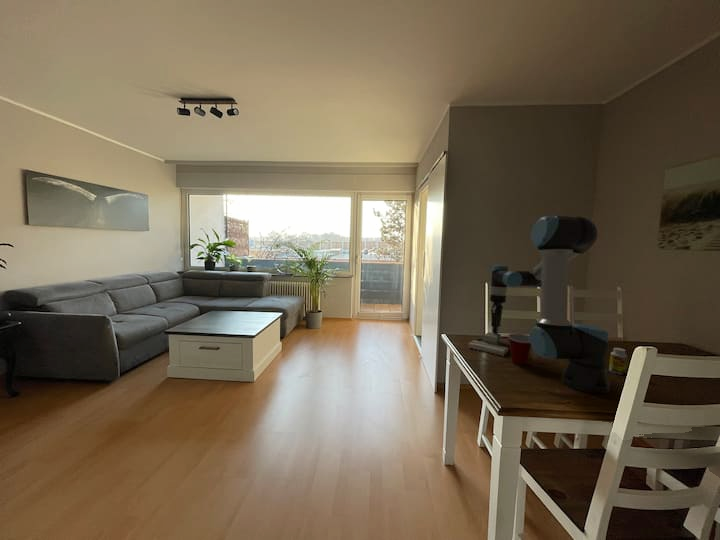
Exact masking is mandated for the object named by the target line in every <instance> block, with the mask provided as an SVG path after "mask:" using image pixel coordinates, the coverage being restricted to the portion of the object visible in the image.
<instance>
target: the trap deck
mask: <svg viewBox="0 0 720 540" xmlns="http://www.w3.org/2000/svg"><path fill="white" fill-rule="evenodd" d="M484 338H485V335H483V334H481V335H479V336H478V337H477V338H476V340H472V341H469V343H468V349H470V348H473V349H472V350H475V349H477V350H476V351H479V350H481V351H480V352H483V351H485V352H484V353H488V352H489V353H488V354H492V353H493V355H496V354H497V355H496V356H500V355H501V357H505V356H506V355H507V354H508V353H509V352H511V350H510V342H509V339H502V338H500V342H499V343H498V344H497V345H494V344H490V343H485V342H484ZM508 351H509V352H508ZM507 352H508V353H507ZM506 353H507V354H506ZM505 354H506V355H505ZM504 355H505V356H504Z"/></svg>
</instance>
